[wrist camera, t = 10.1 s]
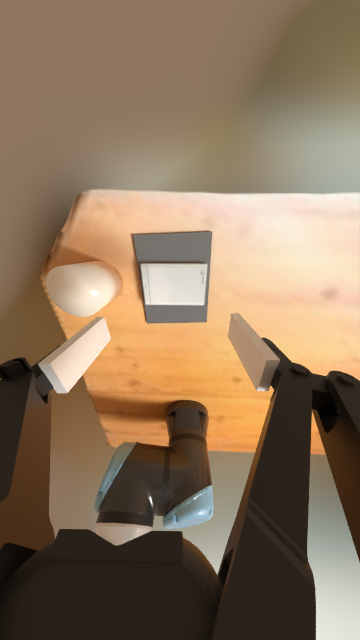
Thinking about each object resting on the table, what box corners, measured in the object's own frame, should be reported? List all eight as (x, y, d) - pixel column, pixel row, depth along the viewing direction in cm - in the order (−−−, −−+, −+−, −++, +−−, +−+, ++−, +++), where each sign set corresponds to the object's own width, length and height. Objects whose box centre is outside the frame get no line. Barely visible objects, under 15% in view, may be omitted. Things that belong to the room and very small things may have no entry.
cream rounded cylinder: (126, 298, 31) (106, 316, 23) (91, 299, 31) (59, 317, 23) (117, 259, 27) (91, 264, 19) (78, 261, 27) (35, 266, 19)
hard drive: (208, 263, 25) (140, 263, 25) (204, 306, 29) (145, 305, 29) (206, 263, 27) (142, 263, 27) (203, 303, 30) (146, 303, 31)
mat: (206, 320, 33) (206, 322, 33) (147, 322, 34) (147, 323, 33) (211, 232, 25) (212, 231, 24) (134, 235, 25) (133, 234, 25)
